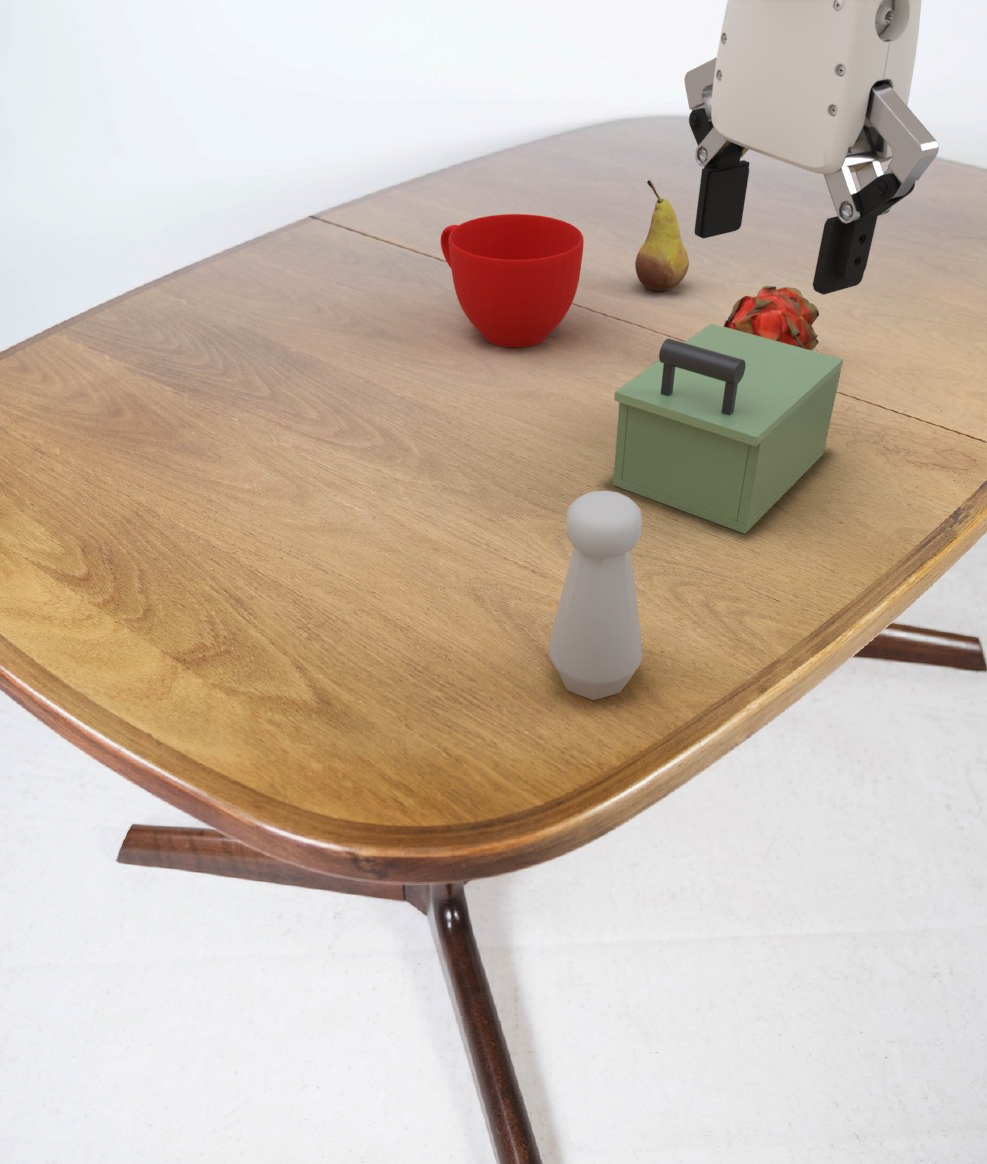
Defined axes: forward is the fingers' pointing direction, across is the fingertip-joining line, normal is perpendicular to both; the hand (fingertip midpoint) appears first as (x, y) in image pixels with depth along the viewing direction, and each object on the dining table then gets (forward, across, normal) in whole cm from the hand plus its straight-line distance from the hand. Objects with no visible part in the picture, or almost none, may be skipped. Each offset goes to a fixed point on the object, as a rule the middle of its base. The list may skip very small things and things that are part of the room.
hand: (773, 259), depth 62 cm
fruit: (+24, +44, -30) cm, 59 cm away
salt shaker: (+24, -4, +14) cm, 27 cm away
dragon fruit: (+24, +23, -26) cm, 42 cm away
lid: (+16, +11, -10) cm, 22 cm away
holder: (+23, +11, -10) cm, 28 cm away
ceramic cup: (+24, +44, -10) cm, 52 cm away
